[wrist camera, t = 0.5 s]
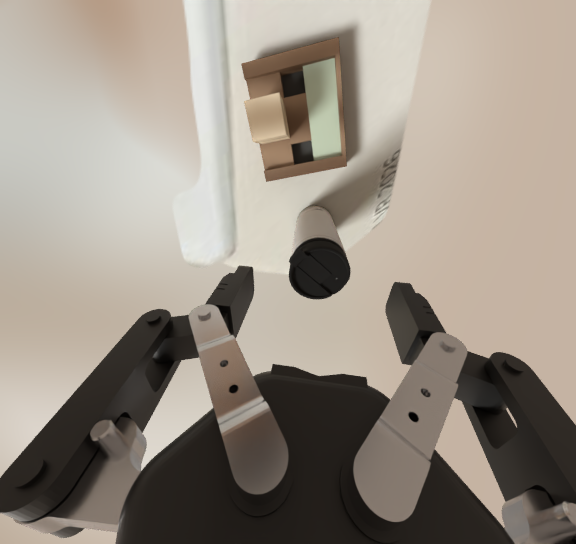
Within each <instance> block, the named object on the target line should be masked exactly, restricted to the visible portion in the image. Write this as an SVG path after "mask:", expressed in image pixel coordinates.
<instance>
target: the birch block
mask: <svg viewBox="0 0 576 544" xmlns="http://www.w3.org/2000/svg"><path fill="white" fill-rule="evenodd" d="M244 103H245V108H246V112H247V117H248V121H249V126H250V131H251V135H252V140H253V142H256V143H260V144H266V143H271V142H276V141H280V140H285V139H289V138H290V135H289V129H288V122H287V116H286V109H285V104H284V102H283V100H282V98H281V95H280V93H275V94H271V95H267V96H263V97H259V98H255V99H251V100H247V101H244Z"/></svg>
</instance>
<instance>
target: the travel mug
mask: <svg viewBox="0 0 576 544" xmlns="http://www.w3.org/2000/svg"><path fill="white" fill-rule="evenodd" d="M289 262H290V270H289V280H290V283H291V285H292V287H293V288H294V290H295V291H296V292H298V293H299V294H300V295H302V296H304V297H307V298H310V299H324V298H327V297H330V296H332V294H335V293H337V292H338V291H340V290H341V289H342V288H343V287H344V285H345V284H346V283H347V282H348V280H349V277H350V266H349V263H348V260H347V257H346V253H345V251H344V248H343V245H342V243H341V240H340V238H339V235H338V233H337V230H336V227H335V225H334V222H333V220H332V217H331V215H330V213H329V212H328V211H327V210H326V209H324V208H323V207H320V206H310V207H307V208H306V209H304V210H303V211H302V212H301V213H300V214H299V216H298V218H297V222H296V228H295V235H294V241H293V247H292V254H291V257H290V260H289Z"/></svg>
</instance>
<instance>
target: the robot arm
mask: <svg viewBox="0 0 576 544" xmlns="http://www.w3.org/2000/svg"><path fill="white" fill-rule="evenodd" d="M253 294H254V279H253V268H252V267H248V266H239V267H238V268H237V270H236V272H235V273H229V274H228V275H226V276H225V277H223V278H222V280H221V281H220V283H219V284H218V286H217V287H216V289H215V290H214V292H213V293H212V295H211V297H210V298H209V299H208V301H207V302H206V304H205V305H201V306H198V307H196V308H194V309H193V310H192V311H191V313H190V314H189V315H185V316H177V317H171V315H170V312H169V311H167V310H163V309H156V310H152V311H149V312H147V313H145V314H144V315H142V316H141V317H140V318H139V319H138V320H137V321H136V322H135V324H134V325H133V326H132V327H131V328H130V329H129V330H128V332H127V333H126V334H125V335H124V336H123V337H122V339H121V340H120V341H119V342H118V343H117V344H116V345H115V347H114V348H113V349H112V350H111V351H110V352H109V353H108V355H107V356H106V357H105V358H104V359H103V360H102V361H101V363H100V364H99V365H98V366H97V367H96V368H95V369H94V371H93V372H92V373H91V374H90V375H89V377H88V378H87V379H86V380H85V381H84V382H83V383H82V385H81V386H80V387H79V388H78V389H77V390H76V391H75V392H74V393H73V395H72V396H71V397H70V398H69V399H68V400H67V402H66V403H65V404H64V405H63V406H62V407H61V408H60V410H59V411H58V412H57V413H56V414H55V415H54V416H53V418H52V419H51V420H50V421H49V422H48V423H47V424H46V426H45V427H44V428H43V429H42V430H41V431H40V433H39V434H38V435H37V436H36V437H35V438H34V440H33V441H32V442H31V443H30V444H29V445H28V446H27V447H26V449H25V450H24V451H23V452H22V453H21V455H19V456H18V458H17V459H16V460H15V461H14V462H13V463H12V465H11V466H10V467H9V468H8V469H7V470H6V471H5V473H4V474H3V475H2V476H1V478H0V513H2V514H4V515H7V516H9V517H11V518H13V519H14V520H15V522H17V523H19V524H21V525H24V526H26V527H29V528H32V529H34V530H37V531H39V532H41V533H50V534H53V535H55V536H58V537H61V538H67V537H71V536H73V535H75V534H77V533H79V532H81V531H82V530H83V529H84V528H87V529H95V530H103V531H112V532H117V538H116V544H576V425H575V424H574V423H573V421H572V420H571V419H570V417H569V416H568V415H567V414H566V413H565V411H564V410H563V409H562V407H561V406H560V405H559V403H558V402H557V401H556V400H555V399H554V397H553V396H552V394H551V393H550V392H549V391H548V389H547V388H546V387H545V385H544V384H543V383H542V382H541V380H540V379H539V378H538V377H537V375H536V374H535V373H534V371H533V370H532V369H531V368H530V367H529V366H528V365H527V364H526V363H524V362H523V361H521V360H520V359H518V358H516V357H514V356H512V355H510V354H506V353H501V352H496V353H493V354H492V355H491V356H490V358H486V357H483V356H480V355H477V354H474V353H471V352H468V351H467V349H466V347H465V346H464V344H463V343H462V342H461V341H460V340H458V339H457V338H455V337H453V336H451V335H449V334H446V332H445V330H444V328H443V327H442V325H441V323H440V321H439V320H438V318H437V316H436V315H435V314H434V311H433V309H431V306H430V304H429V303H428V301H427V300H426V299H425V298H424V297H423V296H422V295H421V294H419V293H415V291H414V289H413V287H412V285H411V284H410V283H400V282H395V283H394V284H393V286H392V289H391V292H390V295H389V298H388V301H387V303H386V316H387V319H388V322H389V325H390V328H391V331H392V334H393V337H394V340H395V343H396V346H397V350H398V353H399V356H400V359H401V362H402V364H407V365H412V366H411V368H410V369H409V371H408V373H407V374H406V376H405V377H404V379H403V381H402V383H401V384H400V386H399V387H398V389H397V390H396V392H395V394H394V395H393V397H392V398H391V400H390V399H389V398H388V397H386V396H385V395H384V394H382V393H381V392H379V391H378V390H376V389H374V388H372V387H370V386H368V385H367V379H366V377H360V376H353V375H346V374H337V375H329V376H316V375H314V374H311V373H309V372H306V371H303V370H301V369H298V368H296V367H289V366H282V365H275V364H273V366H272V370H271V371H269V372H263V373H260V374H257V375H255V376H252V374H251V371H250V369H249V367H248V365H247V363H246V361H245V359H244V357H243V354H242V352H241V350H240V348H239V346H238V344H237V341H236V337H237V334H238V332H239V330H240V327H241V325H242V322H243V320H244V318H245V315H246V313H247V310H248V308H249V305H250V303H251V301H252V298H253ZM198 357H199V358H200V361H201V365H202V368H203V372H204V375H205V379H206V383H207V386H208V389H209V393H210V397H211V400H212V404H213V409H211V410H210V411H209V412H208V413H207V414H205V415H204V416H203V417H202V418H201V419H199V420H198V421H197V422H196V423H195V424H193V425H192V426H191V427H190V428H189V429H187V430H186V431H185V432H184V433H182V434H181V435H180V436H179V437H178V438H176V439H175V440H174V441H173V442H172V443H170V444H169V445H168V446H167V447H166V448H164V449H163V450H162V451H161V452H160V453H158V454H157V455H156V456H155V457H154V458H153V459H152V460H151V461H150V462H149V463H148V464H147V465H146V467H144V469H143V470H142V471H141V463H142V459H143V456H144V454H145V451H146V445H147V444H146V438H145V437H144V435H143V434H142V433H143V431H144V429H145V427H146V425H147V423H148V421H149V420H150V418H151V416H152V414H153V412H154V410H155V408H156V407H157V405H158V403H159V401H160V399H161V397H162V395H163V393H164V392H165V390H166V388H167V386H168V384H169V382H170V381H171V379H172V377H173V375H174V373H175V371H176V369H177V368H178V366H179V364H180V362H181V360H185V359H192V358H198ZM454 398H456V399H458V400H461V401H462V402H463V405H464V407H465V410H466V412H467V414H468V416H469V419H470V421H471V423H472V425H473V428H474V430H475V432H476V435H477V437H478V439H479V441H480V444H481V446H482V448H483V451H484V453H485V455H486V458H487V460H488V462H489V464H490V467H491V469H492V471H493V473H494V476H495V478H496V480H497V482H498V485H499V487H500V490H501V492H502V494H503V496H504V499H505V501H506V502H505V503H504V505H503V507H502V518H503V522H504V525H505V528H503V527H502V525H501V524H500V523H499V522H498V520H497V519H496V518H495V517H494V516H493V515H492V514H491V512H490V511H489V510H488V509H487V508H486V507H485V506H484V505H483V503H481V501H480V500H479V499H478V498H477V497H476V496H475V494H474V493H473V492H472V491H471V490H470V489H469V488H468V486H467V485H466V484H465V483H464V482H463V481H462V480H461V479H460V477H458V475H457V474H456V473H455V472H454V471H453V470H452V469H451V467H450V466H449V465H448V464H447V463H446V462H445V461H444V460H443V458H442V457H441V456H440V455H439V454H438V453H437V451H436V450H435V449H434V448H435V446H436V443H437V441H438V438H439V435H440V433H441V430H442V428H443V425H444V422H445V420H446V417H447V414H448V412H449V409H450V406H451V404H452V401H453V399H454ZM507 407H508V409H509V411H510V412H511V414H512V416H513V417H514V419H515V421H516V424H517V428H516V426H515V424H514V423H513V421H512V419H511V417H510V416H509V414H508V412H507V410H506V408H507Z"/></svg>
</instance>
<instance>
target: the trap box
mask: <svg viewBox="0 0 576 544" xmlns="http://www.w3.org/2000/svg"><path fill="white" fill-rule="evenodd" d="M242 69H243V74H244V78H245V80H246V81H247V86H248V91H249V96H250V100H251V99H255V98H259V97H263V96H267V95H271V94H275V93H280V95H281V98H282V100H283V102H284V104H285V109H286V116H287V122H288V129H289V135H290V138H289V139H285V140H280V141H276V142H271V143H266V144H260V143H259V144H260V148H261V153H262V158H263V163H264V168H265V171H264V173H265V178H266V182H267V181H273V180H278V179H283V178H288V177H293V176H299V175H304V174H309V173H314V172H319V171H325V170H330V169H335V168H340V167H345V166H347V162H346V146H345V130H344V114H343V98H342V83H341V67H340V51H339V37H337V38H333V39H330V40H326V41H322V42H319V43H315V44H311V45H308V46H304V47H301V48H297V49H293V50H290V51H286V52H282V53H279V54H275V55H272V56H268V57H264V58H261V59H257V60H253V61H250V62H246V63H243V64H242Z"/></svg>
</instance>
